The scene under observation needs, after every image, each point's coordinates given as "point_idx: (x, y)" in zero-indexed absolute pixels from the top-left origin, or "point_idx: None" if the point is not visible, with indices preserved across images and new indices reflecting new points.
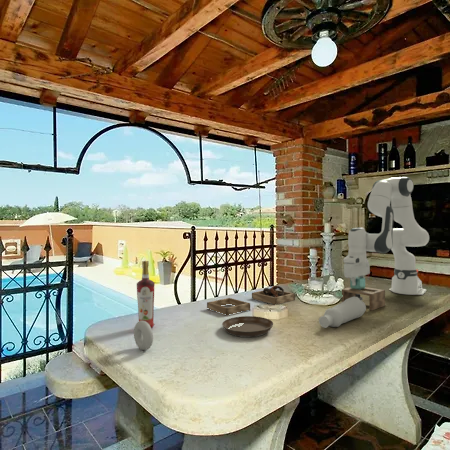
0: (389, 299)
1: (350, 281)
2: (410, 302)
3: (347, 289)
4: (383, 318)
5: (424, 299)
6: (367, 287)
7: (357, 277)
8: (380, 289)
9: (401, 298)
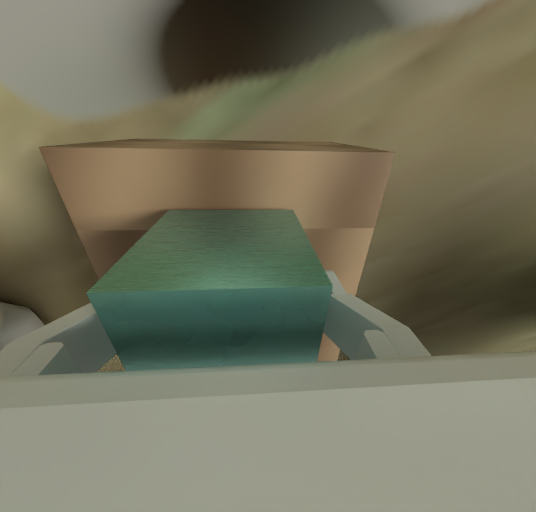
0: (456, 268)
1: (132, 252)
2: (429, 336)
3: (104, 207)
4: (119, 370)
5: (509, 344)
6: (358, 282)
7: (248, 351)
8: (334, 360)
9: (502, 292)
